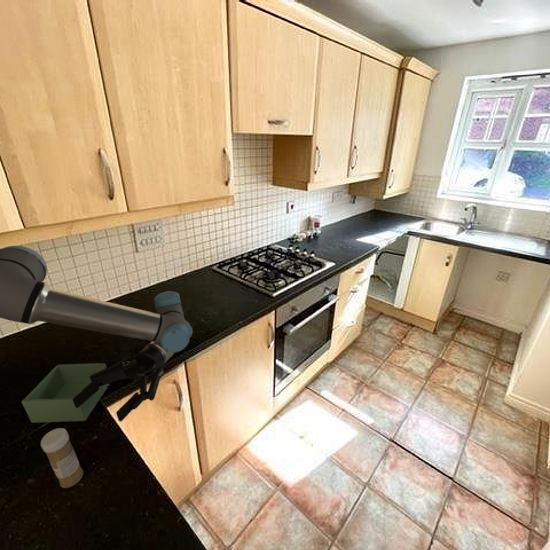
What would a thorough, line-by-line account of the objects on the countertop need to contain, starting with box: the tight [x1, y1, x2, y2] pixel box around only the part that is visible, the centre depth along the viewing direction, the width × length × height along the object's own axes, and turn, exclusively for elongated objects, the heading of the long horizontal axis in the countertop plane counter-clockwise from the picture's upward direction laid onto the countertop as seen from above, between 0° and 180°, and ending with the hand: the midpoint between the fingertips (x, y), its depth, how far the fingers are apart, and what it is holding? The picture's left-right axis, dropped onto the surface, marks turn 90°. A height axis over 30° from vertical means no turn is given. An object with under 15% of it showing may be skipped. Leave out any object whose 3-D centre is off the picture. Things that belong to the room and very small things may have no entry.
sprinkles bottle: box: [40, 427, 84, 489], centre depth 65 cm, size 5×5×13 cm
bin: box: [21, 362, 110, 424], centre depth 87 cm, size 15×15×8 cm
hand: (95, 410), depth 72 cm, fingers open, 13 cm apart
